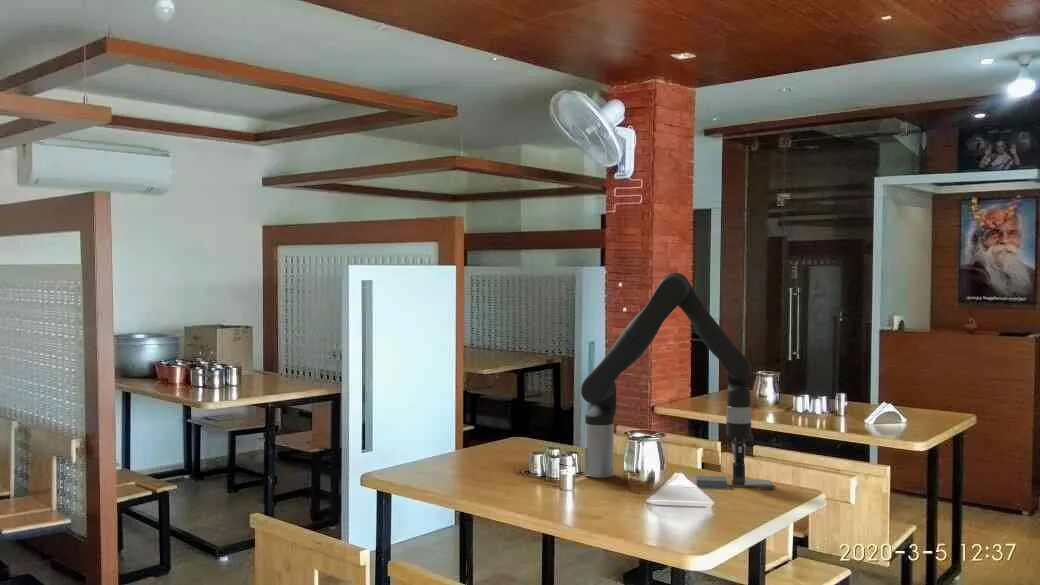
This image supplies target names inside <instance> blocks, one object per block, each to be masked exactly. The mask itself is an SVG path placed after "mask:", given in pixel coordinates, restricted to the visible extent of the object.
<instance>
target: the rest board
mask: <svg viewBox="0 0 1040 585" xmlns="http://www.w3.org/2000/svg"><path fill="white" fill-rule="evenodd" d="M731 484H732V488H739V489H740V488H741V489H742V488H743V489H759V490H760V491H762V490H763V491H764V490H765V491H774V485H773V483H772V482H771V486H746V485H744V484H733V479H731Z"/></svg>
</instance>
